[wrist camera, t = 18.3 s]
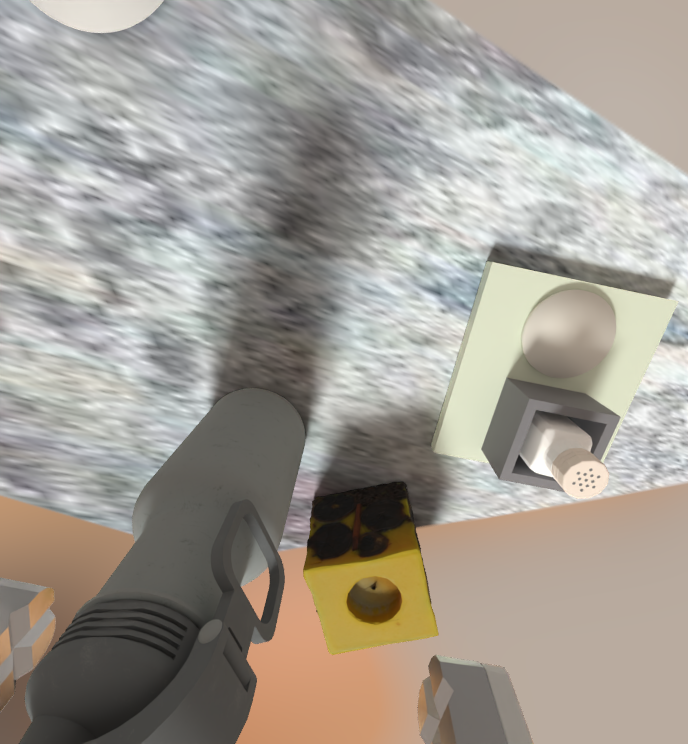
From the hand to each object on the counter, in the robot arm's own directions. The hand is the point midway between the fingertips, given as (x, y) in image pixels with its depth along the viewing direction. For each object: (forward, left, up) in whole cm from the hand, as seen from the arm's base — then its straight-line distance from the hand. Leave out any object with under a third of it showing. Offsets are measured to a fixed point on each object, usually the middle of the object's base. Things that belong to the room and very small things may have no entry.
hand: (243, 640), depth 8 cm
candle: (+20, +8, -29) cm, 36 cm away
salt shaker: (+4, +20, -28) cm, 34 cm away
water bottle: (+11, -5, -29) cm, 32 cm away
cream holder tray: (0, +20, -29) cm, 35 cm away
